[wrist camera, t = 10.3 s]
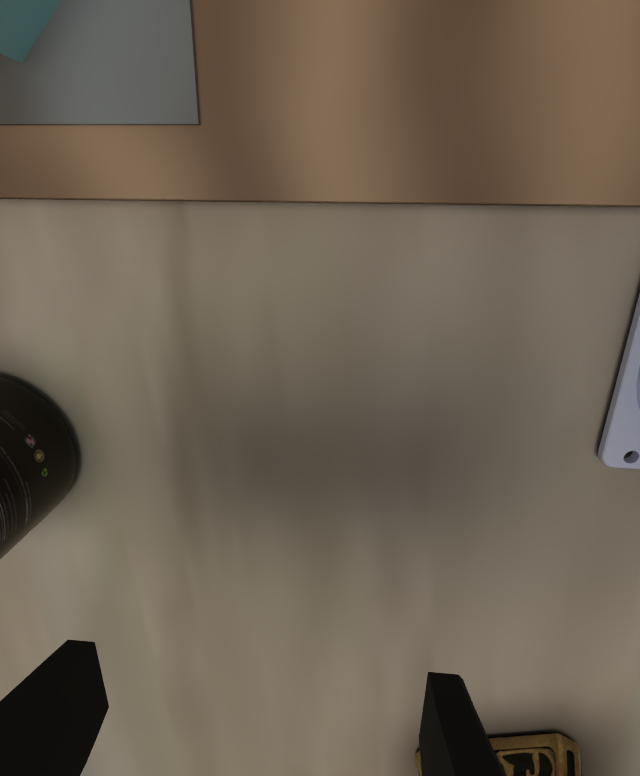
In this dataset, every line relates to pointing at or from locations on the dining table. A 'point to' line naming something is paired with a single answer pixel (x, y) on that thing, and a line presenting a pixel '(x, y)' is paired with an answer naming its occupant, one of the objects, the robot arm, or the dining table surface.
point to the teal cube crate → (22, 25)
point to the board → (328, 102)
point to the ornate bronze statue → (534, 755)
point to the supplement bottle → (30, 462)
